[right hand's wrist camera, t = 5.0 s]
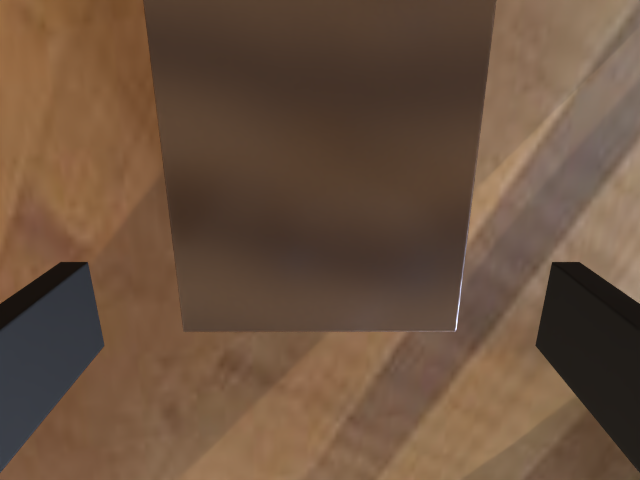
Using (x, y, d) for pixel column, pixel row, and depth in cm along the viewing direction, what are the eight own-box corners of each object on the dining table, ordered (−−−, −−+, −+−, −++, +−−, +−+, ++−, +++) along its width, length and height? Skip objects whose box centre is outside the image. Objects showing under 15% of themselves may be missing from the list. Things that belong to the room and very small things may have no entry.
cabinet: (194, -163, 20) (98, -356, 11) (443, -163, 20) (540, -355, 11) (227, 252, 26) (183, 332, 18) (412, 252, 26) (456, 332, 18)
